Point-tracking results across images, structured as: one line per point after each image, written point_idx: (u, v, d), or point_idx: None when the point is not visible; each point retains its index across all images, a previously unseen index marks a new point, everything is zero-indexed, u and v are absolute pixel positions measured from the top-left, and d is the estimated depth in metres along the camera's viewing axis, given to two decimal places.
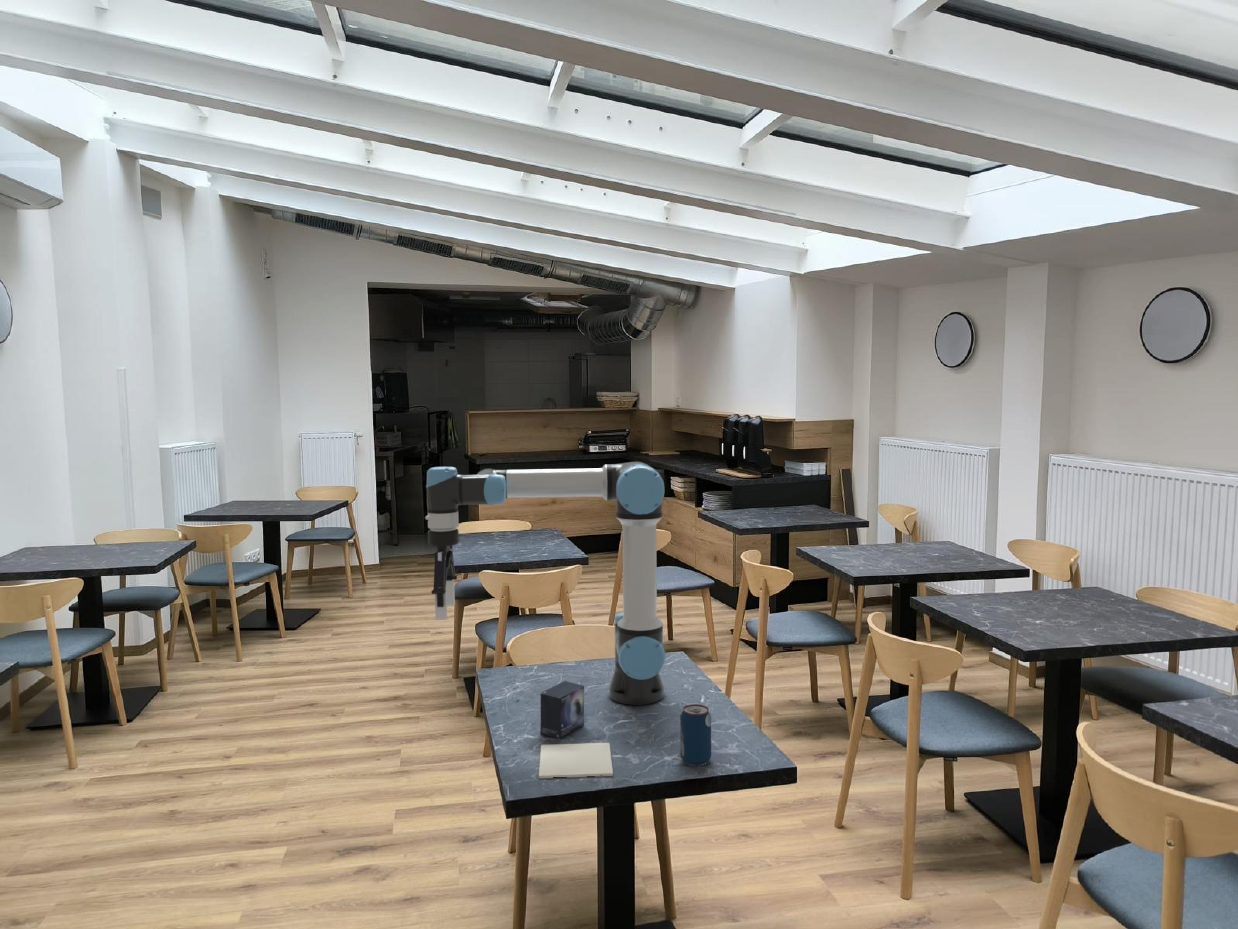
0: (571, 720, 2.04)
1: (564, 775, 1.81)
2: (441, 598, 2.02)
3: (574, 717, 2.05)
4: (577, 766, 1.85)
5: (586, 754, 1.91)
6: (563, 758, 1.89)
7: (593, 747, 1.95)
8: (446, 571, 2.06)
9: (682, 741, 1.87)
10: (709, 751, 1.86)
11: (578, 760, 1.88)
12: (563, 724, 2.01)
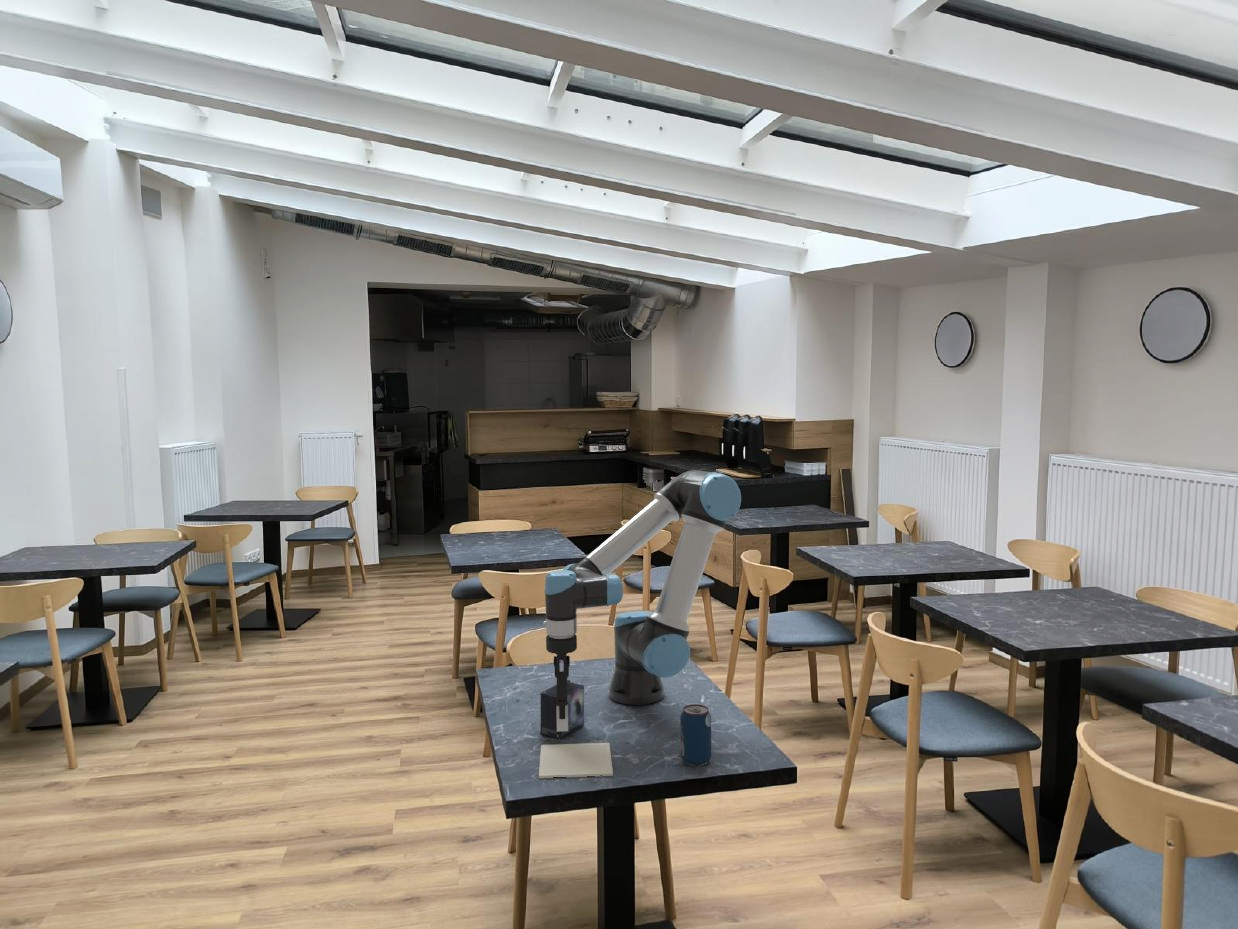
0: (571, 720, 2.04)
1: (564, 775, 1.81)
2: (563, 710, 1.98)
3: (574, 717, 2.05)
4: (577, 766, 1.85)
5: (586, 754, 1.91)
6: (563, 758, 1.89)
7: (593, 747, 1.95)
8: None
9: (682, 741, 1.87)
10: (709, 751, 1.86)
11: (578, 760, 1.88)
12: None
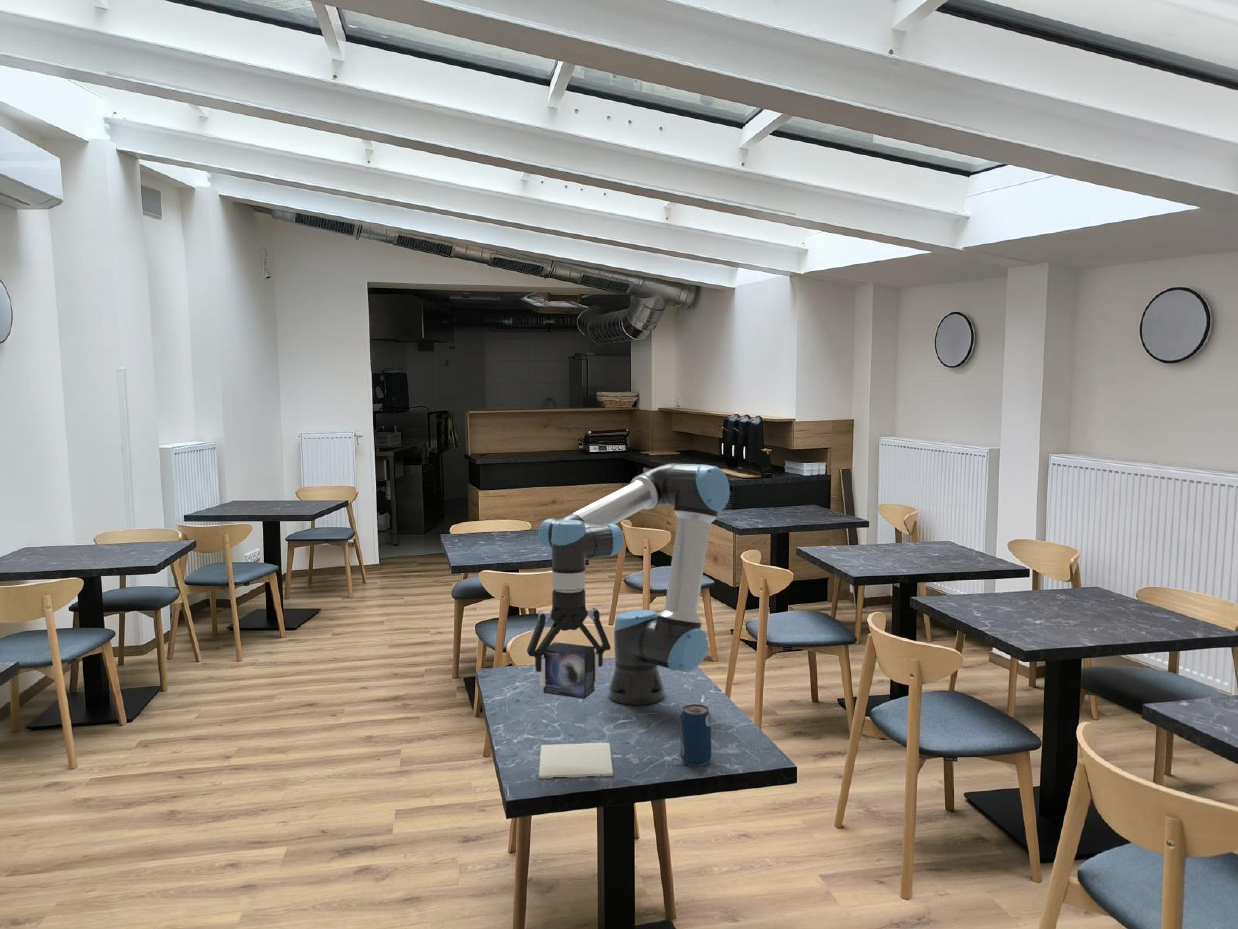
0: (560, 682, 1.89)
1: (564, 775, 1.81)
2: (536, 662, 1.89)
3: (565, 681, 1.88)
4: (577, 766, 1.85)
5: (586, 754, 1.91)
6: (563, 758, 1.89)
7: (593, 747, 1.95)
8: (551, 635, 1.88)
9: (682, 741, 1.87)
10: (709, 751, 1.86)
11: (578, 760, 1.88)
12: (547, 680, 1.90)
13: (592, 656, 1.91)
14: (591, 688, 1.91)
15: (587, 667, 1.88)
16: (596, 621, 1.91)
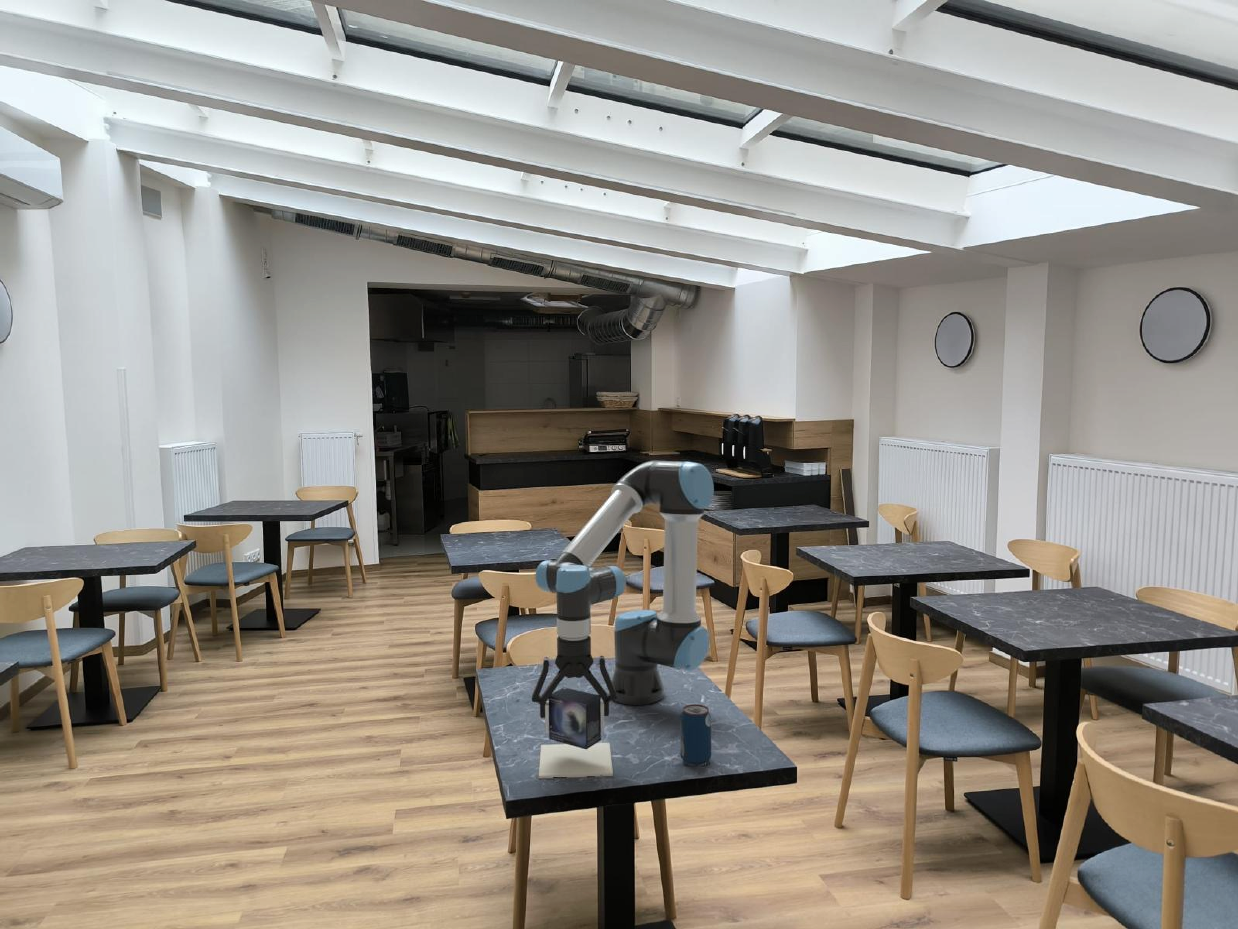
0: (564, 730, 1.86)
1: (564, 775, 1.81)
2: (540, 708, 1.87)
3: (568, 730, 1.85)
4: (577, 766, 1.85)
5: (586, 754, 1.91)
6: (563, 758, 1.89)
7: (593, 747, 1.95)
8: (555, 682, 1.86)
9: (682, 741, 1.87)
10: (709, 751, 1.86)
11: (578, 760, 1.88)
12: (552, 726, 1.88)
13: (597, 705, 1.86)
14: (596, 737, 1.87)
15: (590, 717, 1.84)
16: (601, 670, 1.86)
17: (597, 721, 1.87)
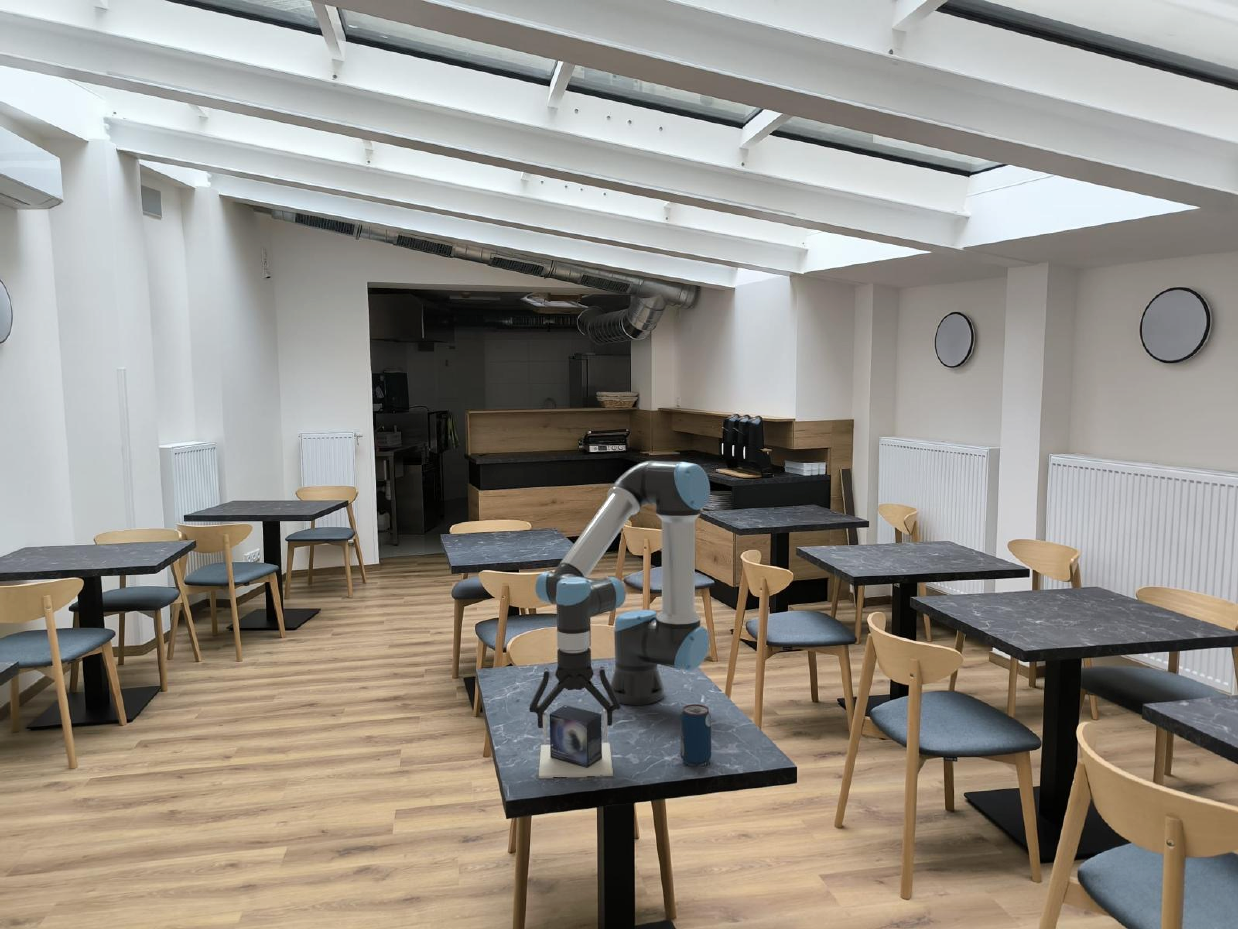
0: (565, 749, 1.86)
1: (564, 775, 1.81)
2: None
3: (569, 748, 1.86)
4: (577, 766, 1.85)
5: None
6: None
7: None
8: (554, 693, 1.86)
9: (682, 741, 1.87)
10: (709, 751, 1.86)
11: None
12: (553, 744, 1.88)
13: (598, 724, 1.87)
14: (598, 756, 1.87)
15: (590, 735, 1.84)
16: (602, 681, 1.86)
17: (598, 739, 1.87)
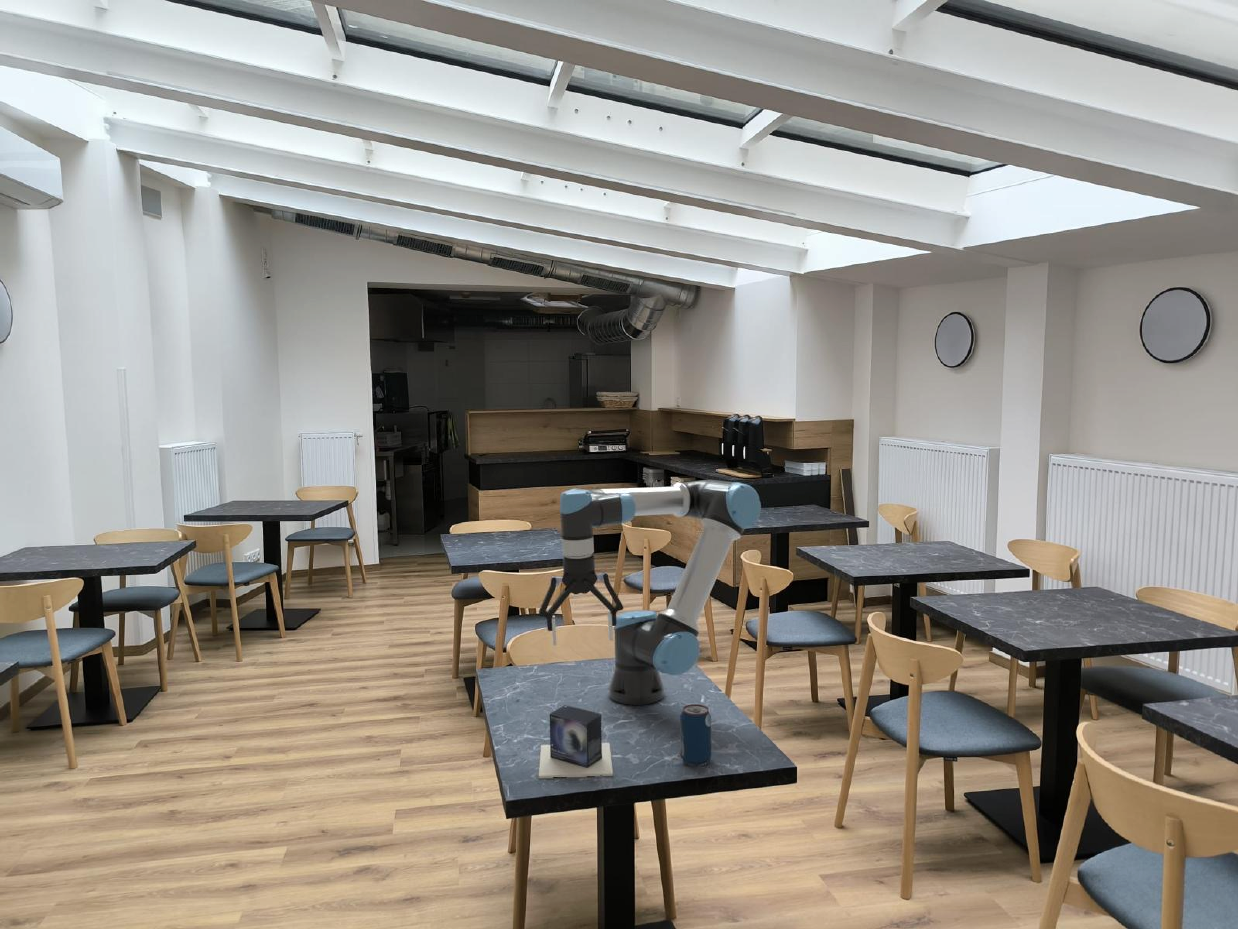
0: (565, 749, 1.86)
1: (564, 775, 1.81)
2: (547, 622, 2.00)
3: (569, 748, 1.86)
4: (577, 766, 1.85)
5: None
6: None
7: None
8: (561, 598, 1.99)
9: (682, 741, 1.87)
10: (709, 751, 1.86)
11: None
12: (553, 744, 1.88)
13: (598, 724, 1.87)
14: (598, 755, 1.87)
15: (590, 735, 1.84)
16: (606, 584, 2.00)
17: (598, 739, 1.87)
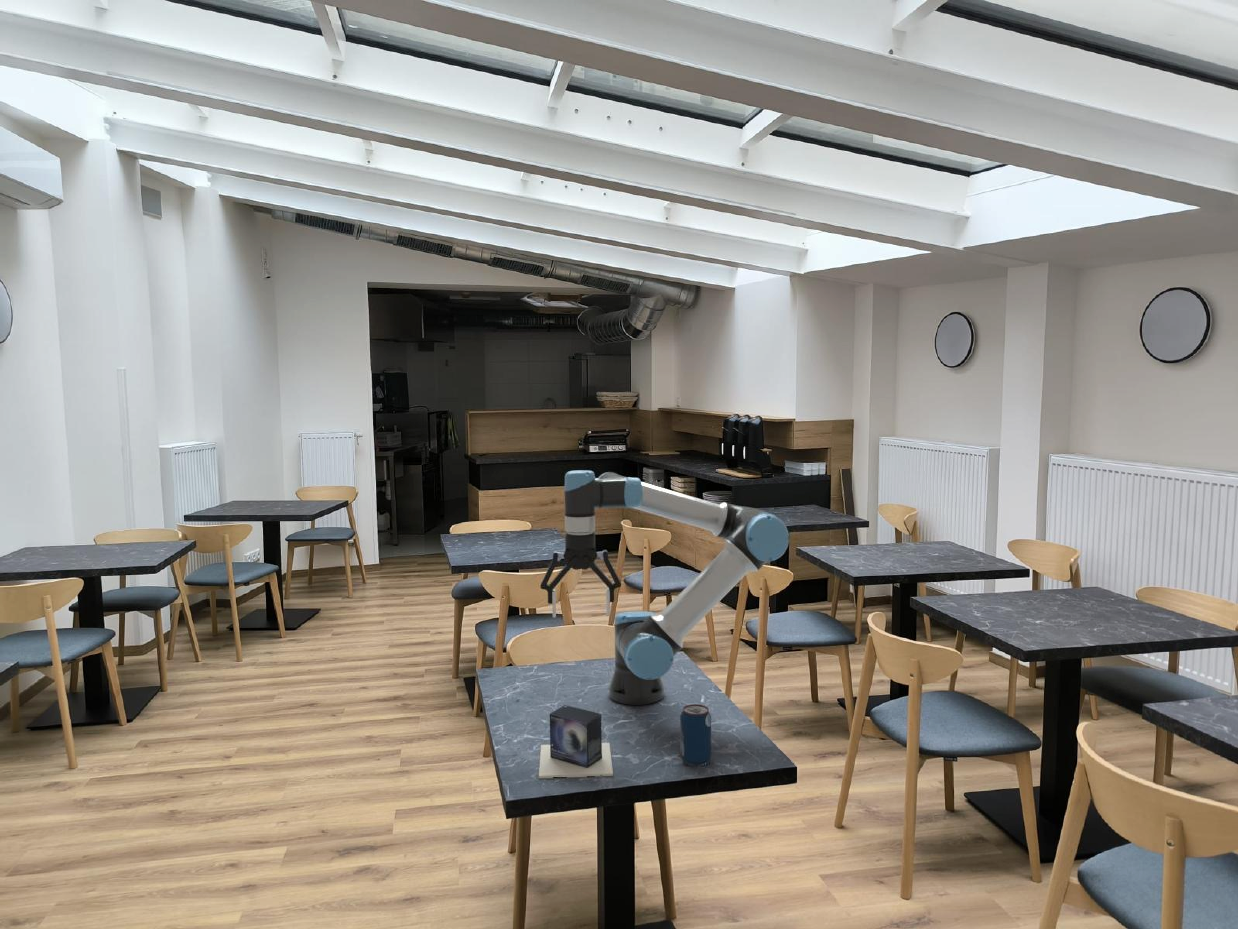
0: (565, 749, 1.86)
1: (564, 775, 1.81)
2: None
3: (569, 748, 1.86)
4: (577, 766, 1.85)
5: None
6: None
7: None
8: (562, 572, 2.09)
9: (682, 741, 1.87)
10: (709, 751, 1.86)
11: None
12: (553, 744, 1.88)
13: (598, 724, 1.87)
14: (598, 756, 1.87)
15: (590, 735, 1.84)
16: (605, 561, 2.10)
17: (598, 739, 1.87)
